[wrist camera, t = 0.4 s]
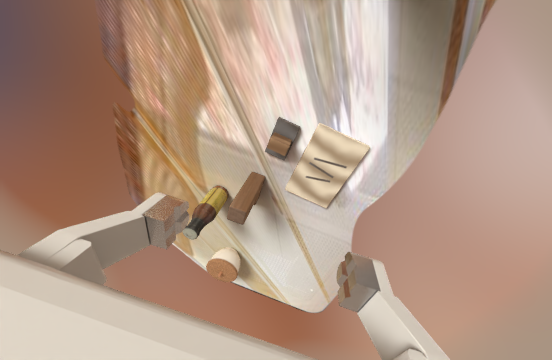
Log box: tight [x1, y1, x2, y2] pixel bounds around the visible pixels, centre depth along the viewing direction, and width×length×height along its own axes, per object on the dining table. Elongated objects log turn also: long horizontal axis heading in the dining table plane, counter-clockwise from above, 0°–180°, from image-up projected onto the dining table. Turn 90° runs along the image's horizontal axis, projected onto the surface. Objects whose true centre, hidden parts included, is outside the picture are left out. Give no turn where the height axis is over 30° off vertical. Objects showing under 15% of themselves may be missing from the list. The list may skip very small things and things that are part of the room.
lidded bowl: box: [206, 247, 240, 282], centre depth 79 cm, size 13×13×11 cm
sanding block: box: [265, 117, 300, 160], centre depth 51 cm, size 10×6×7 cm, turn 158°
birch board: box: [285, 123, 370, 208], centre depth 55 cm, size 22×14×2 cm, turn 158°
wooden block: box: [227, 172, 265, 224], centre depth 55 cm, size 9×4×18 cm, turn 163°
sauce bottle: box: [183, 186, 228, 239], centre depth 59 cm, size 6×6×20 cm
